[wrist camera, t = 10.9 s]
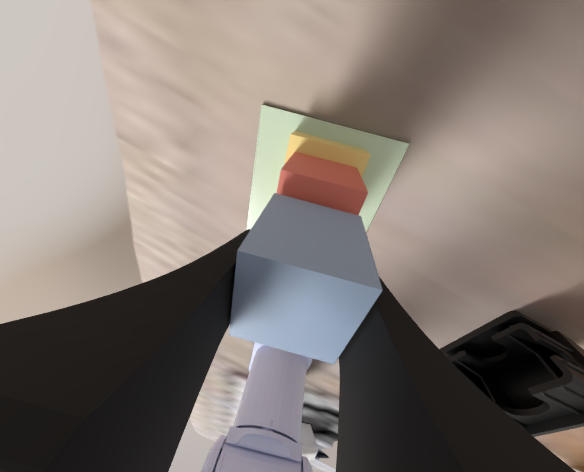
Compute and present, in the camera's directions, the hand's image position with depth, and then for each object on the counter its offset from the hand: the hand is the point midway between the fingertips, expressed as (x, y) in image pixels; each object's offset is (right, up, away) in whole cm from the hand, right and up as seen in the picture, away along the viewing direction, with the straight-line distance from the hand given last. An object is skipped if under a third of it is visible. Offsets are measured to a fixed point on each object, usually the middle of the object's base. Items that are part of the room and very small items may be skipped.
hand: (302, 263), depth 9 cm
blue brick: (0, +1, +1) cm, 2 cm away
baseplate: (+1, +5, +7) cm, 9 cm away
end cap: (+21, -10, +13) cm, 27 cm away
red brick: (+1, +3, +6) cm, 7 cm away
